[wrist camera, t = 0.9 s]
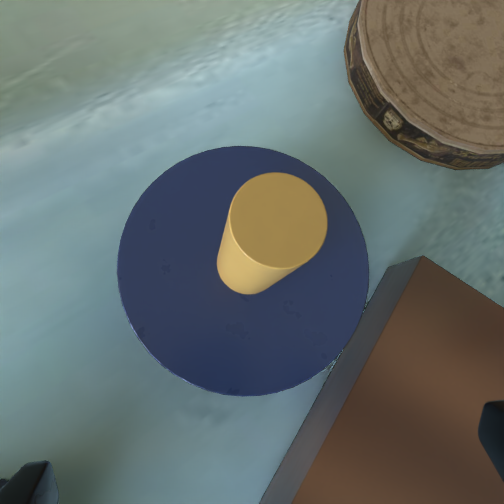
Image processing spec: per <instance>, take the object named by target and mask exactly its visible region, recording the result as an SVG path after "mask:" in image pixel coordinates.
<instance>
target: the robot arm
mask: <svg viewBox="0 0 504 504" xmlns="http://www.w3.org/2000/svg"><path fill="white" fill-rule="evenodd" d="M478 437H479V440H480V442H481V444H482V446H483V448H484V450H485V451H486V453H487V455H488V456H489V458H490V460H491V462H492V463H493V465H494V467H495V469H496V470H497V472H498V474H499V476H500V477H501V479H502V481H503V482H504V400H494V401H488V402H486V403H485V404H484V406H483V409H482V413H481V417H480V422H479V426H478ZM58 502H59V492H58V487H57V483H56V479H55V475H54V471H53V467H52V464H51V463H50V462H49V461H46V460H45V461H38V462H30V463H27V464H25V465H24V466H22V467H21V468H20V469H19V470H18V471H17V472H16V473H15V475H14V476H13V477H12V478H11V479H10V480H9V481H8V482H7V483H6V484H5V485H4V486H3V487H2V488H1V489H0V504H58Z"/></svg>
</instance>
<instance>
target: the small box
mask: <svg viewBox="0 0 504 504" xmlns="http://www.w3.org/2000/svg"><path fill="white" fill-rule="evenodd" d="M6 483H7V481H6V480H5V479H1V480H0V489H1V488H2V487H3V486H4V485H5V484H6Z"/></svg>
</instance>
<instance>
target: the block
mask: <svg viewBox="0 0 504 504" xmlns="http://www.w3.org/2000/svg"><path fill="white" fill-rule="evenodd" d="M494 400H504V308H503V307H502V306H500V305H498V304H497V303H495V302H494V301H492V300H491V299H489V298H488V297H486V296H485V295H483V294H482V293H480V292H479V291H477V290H476V289H474V288H472V287H471V286H469V285H468V284H466V283H465V282H463V281H462V280H460V279H459V278H457V277H456V276H454V275H453V274H451V273H450V272H448V271H446V270H445V269H443V268H442V267H440V266H439V265H437V264H436V263H434V262H433V261H431V260H430V259H428V258H427V257H425V256H423V255H422V256H419V257H416V258H413V259H410V260H408V261H405V262H402V263H399V264H396V265H393V266H391V267H388V269H387V271H386V273H385V274H384V276H383V278H382V280H381V282H380V283H379V285H378V287H377V289H376V291H375V293H374V294H373V296H372V298H371V300H370V302H369V304H368V305H367V307H366V309H365V311H364V313H363V314H362V316H361V319H360V321H359V323H358V325H357V327H356V330H355V332H354V334H353V335H352V337H351V338H350V340H349V341H348V343H347V345H346V346H345V347H344V349H343V351H342V353H341V355H340V356H339V358H338V360H337V362H336V364H335V366H334V367H333V369H332V371H331V373H330V375H329V377H328V378H327V380H326V382H325V384H324V386H323V388H322V389H321V391H320V393H319V395H318V397H317V398H316V400H315V402H314V404H313V406H312V408H311V409H310V411H309V413H308V415H307V417H306V419H305V420H304V422H303V424H302V426H301V428H300V430H299V431H298V433H297V435H296V437H295V439H294V440H293V442H292V444H291V446H290V448H289V450H288V451H287V453H286V455H285V457H284V459H283V461H282V462H281V464H280V466H279V468H278V470H277V472H276V473H275V475H274V477H273V479H272V481H271V482H270V484H269V486H268V488H267V490H266V492H265V493H264V495H263V497H262V499H261V501H260V503H259V504H504V482H503V481H502V479H501V477H500V476H499V474H498V472H497V470H496V469H495V467H494V465H493V463H492V462H491V460H490V458H489V456H488V455H487V453H486V451H485V450H484V448H483V446H482V444H481V442H480V440H479V437H478V426H479V422H480V417H481V413H482V409H483V406H484V404H485V403H486V402H488V401H494Z"/></svg>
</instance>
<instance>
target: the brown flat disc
mask: <svg viewBox="0 0 504 504" xmlns="http://www.w3.org/2000/svg"><path fill="white" fill-rule="evenodd" d="M344 56H345V62H346V69H347V75H348V82H349V84H350V86H351V88H352V90H353V92H354V94H355V96H356V98H357V100H358V102H359V104H360V106H361V108H362V110H363V112H364V114H365V115H366V116H367V117H368V118H369V120H370V121H371V122H372V123H373V124H374V125H375V126H376V127H377V128H378V129H379V130H380V131H381V133H382V134H383V135H384V136H385V137H386V138H387V139H388V140H389V141H390V142H392V143H393V144H395V145H397V146H398V147H400V148H401V149H403V150H405V151H406V152H408V153H410V154H411V155H413V156H415V157H416V158H418V159H419V160H421V161H425V162H428V163H432V164H436V165H439V166H443V167H446V168H450V169H454V170H467V169H489V168H491V167H494V166H496V165H499V164H501V163H504V0H359V2H358V4H357V6H356V8H355V11H354V13H353V15H352V17H351V19H350V21H349V26H348V31H347V36H346V41H345V46H344Z"/></svg>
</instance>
